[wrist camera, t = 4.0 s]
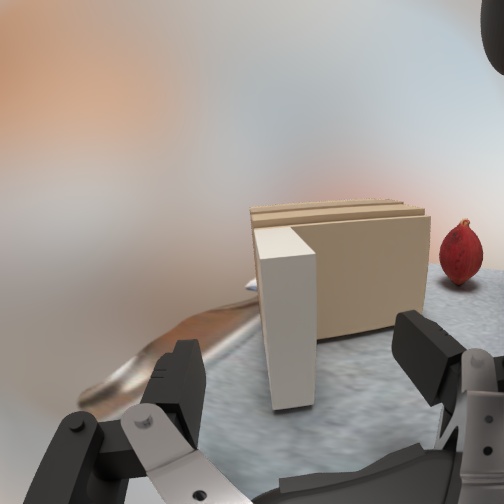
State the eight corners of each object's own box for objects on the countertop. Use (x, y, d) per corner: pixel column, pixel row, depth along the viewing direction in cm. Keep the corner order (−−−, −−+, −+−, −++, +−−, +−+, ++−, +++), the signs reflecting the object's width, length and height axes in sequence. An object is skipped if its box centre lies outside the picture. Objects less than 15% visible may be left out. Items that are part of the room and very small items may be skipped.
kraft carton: (373, 282, 32) (374, 196, 29) (415, 319, 22) (424, 206, 20) (258, 296, 32) (249, 205, 29) (264, 345, 22) (252, 218, 19)
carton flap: (417, 315, 22) (426, 215, 19) (466, 359, 14) (491, 234, 12) (263, 342, 22) (253, 228, 19) (272, 410, 14) (260, 259, 12)
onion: (455, 297, 24) (463, 224, 22) (428, 280, 30) (432, 215, 28) (486, 288, 24) (494, 221, 22) (458, 274, 30) (463, 214, 28)
